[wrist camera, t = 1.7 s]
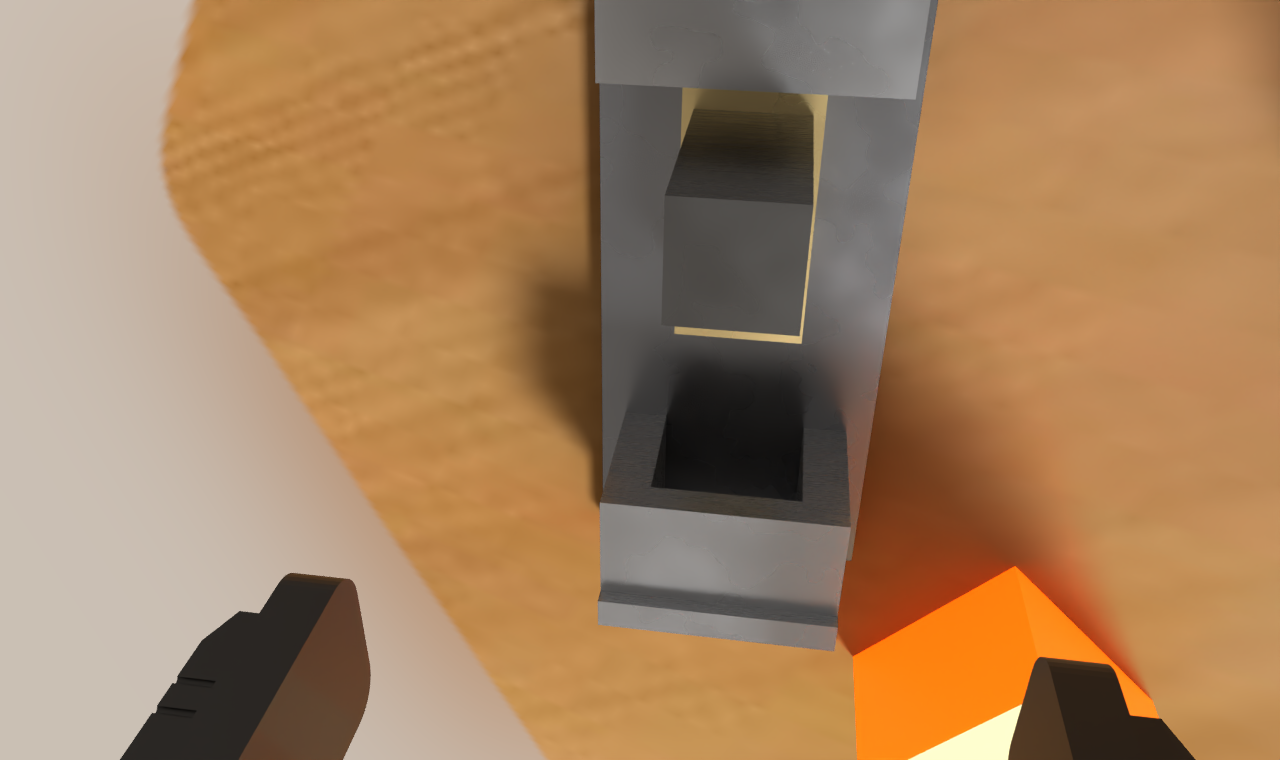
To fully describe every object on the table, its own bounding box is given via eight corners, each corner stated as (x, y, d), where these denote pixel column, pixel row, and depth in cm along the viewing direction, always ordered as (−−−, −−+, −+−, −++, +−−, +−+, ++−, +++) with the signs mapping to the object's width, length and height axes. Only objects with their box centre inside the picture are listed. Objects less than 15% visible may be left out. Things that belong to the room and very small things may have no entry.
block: (709, -341, 24) (659, -382, 16) (869, -340, 23) (895, -383, 16) (685, 287, 32) (645, 454, 25) (802, 296, 32) (798, 469, 24)
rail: (604, -265, 26) (547, -268, 20) (972, -260, 25) (1017, -262, 19) (607, 518, 39) (574, 644, 34) (850, 542, 38) (856, 677, 32)
